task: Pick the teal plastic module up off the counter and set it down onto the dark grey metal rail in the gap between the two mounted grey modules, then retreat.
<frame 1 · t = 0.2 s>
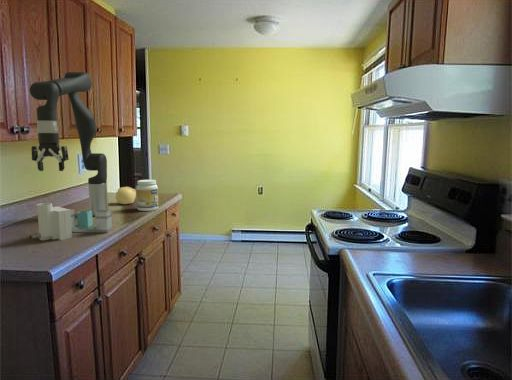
hand: (51, 170, 161), 28 cm above the worktop, fingers open, 8 cm apart
pale yellow ball: (126, 204, 241), on the worktop
rail: (86, 231, 174), on the worktop
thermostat: (48, 239, 162), on the worktop
supplement tub: (147, 209, 223), on the worktop
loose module: (85, 225, 184), on the worktop
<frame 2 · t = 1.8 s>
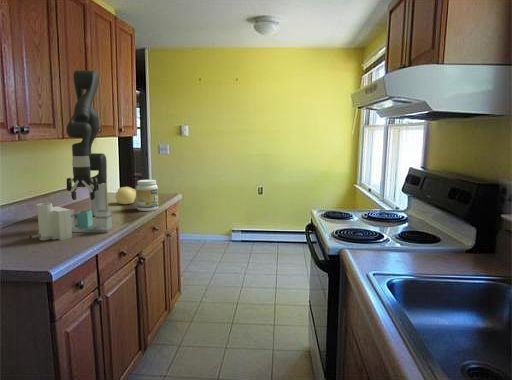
hand: (83, 199, 182), 13 cm above the worktop, fingers open, 8 cm apart
nothing on the worktop moved.
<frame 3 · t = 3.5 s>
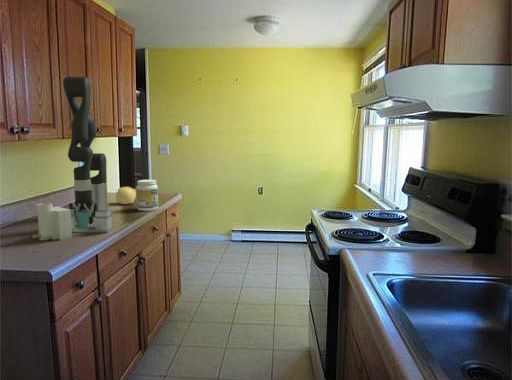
hand: (85, 223, 184), 1 cm above the worktop, fingers closed on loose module, 5 cm apart
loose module: (85, 225, 184), on the worktop, touching gripper
everything else where it was.
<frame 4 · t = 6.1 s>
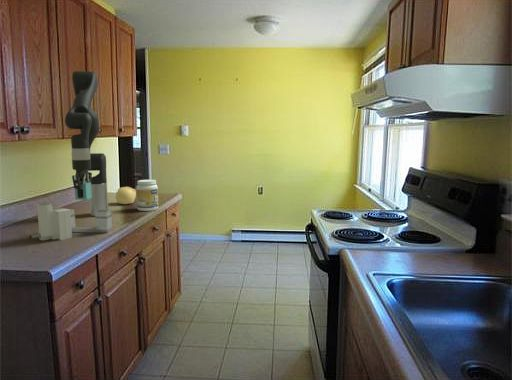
hand: (83, 196, 172), 16 cm above the worktop, fingers closed on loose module, 5 cm apart
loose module: (83, 198, 172), point 15 cm above the worktop, touching gripper
everything else where it was.
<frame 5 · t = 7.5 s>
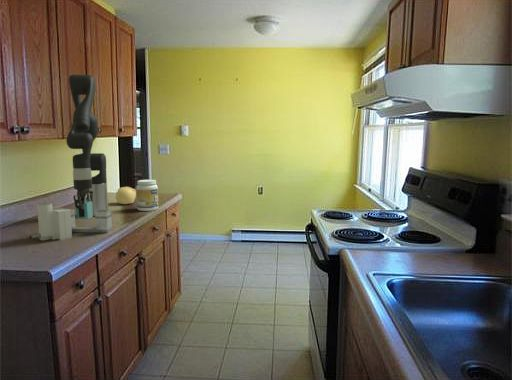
hand: (84, 215, 173), 7 cm above the worktop, fingers closed on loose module, 5 cm apart
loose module: (84, 217, 173), point 6 cm above the worktop, touching gripper
everything else where it was.
when the fingers open (4 cm above the worktop, at t = 8.7 s): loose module drops 1 cm, resting on rail.
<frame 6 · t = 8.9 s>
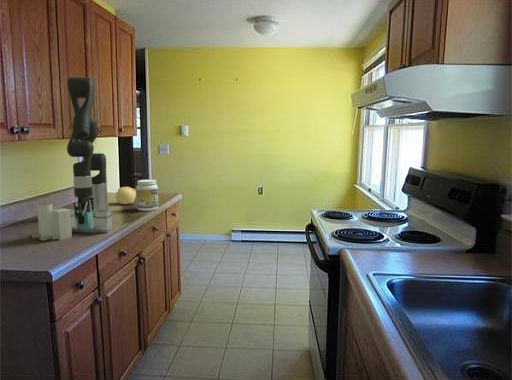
hand: (85, 222, 174), 4 cm above the worktop, fingers open, 6 cm apart
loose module: (85, 227, 174), point 1 cm above the worktop, touching rail
everything else where it was.
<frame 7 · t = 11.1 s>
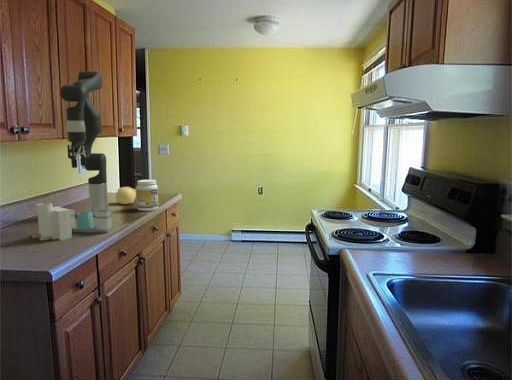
hand: (79, 166, 176), 29 cm above the worktop, fingers open, 8 cm apart
nothing on the worktop moved.
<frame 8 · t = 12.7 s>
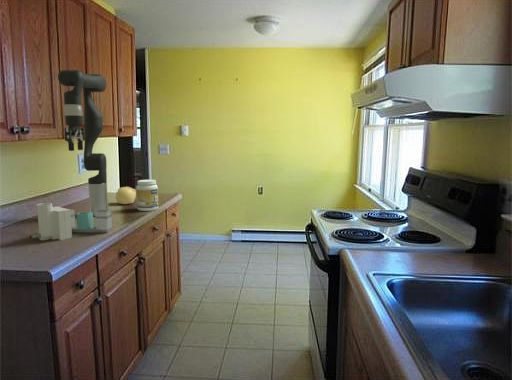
hand: (76, 150, 179), 36 cm above the worktop, fingers open, 8 cm apart
nothing on the worktop moved.
at the end: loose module inside the target area on the rail (0.1 cm from its centre), point 1.5 cm above the rail's base; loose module tilted 0°; the gripper is holding nothing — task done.
